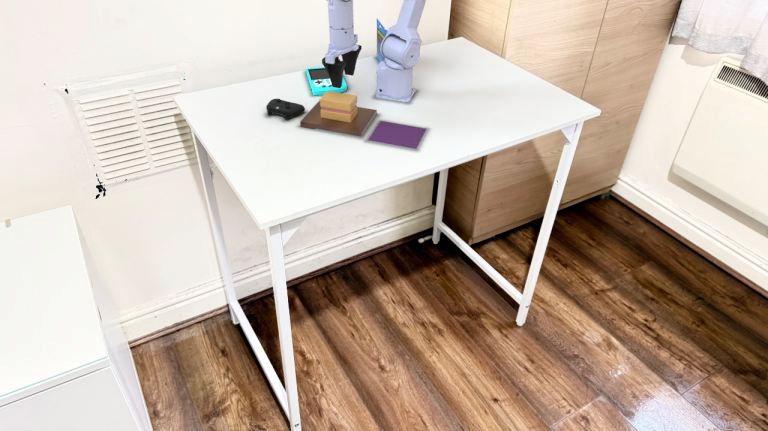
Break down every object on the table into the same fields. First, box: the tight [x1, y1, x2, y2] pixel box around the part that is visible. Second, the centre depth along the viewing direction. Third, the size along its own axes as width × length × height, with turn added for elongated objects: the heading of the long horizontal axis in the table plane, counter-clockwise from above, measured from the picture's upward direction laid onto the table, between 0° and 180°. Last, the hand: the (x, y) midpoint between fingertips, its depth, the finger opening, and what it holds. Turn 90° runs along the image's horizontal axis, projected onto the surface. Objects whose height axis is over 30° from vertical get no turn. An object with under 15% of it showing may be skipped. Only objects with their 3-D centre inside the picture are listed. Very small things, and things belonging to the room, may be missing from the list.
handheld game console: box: [305, 66, 348, 96], centre depth 150 cm, size 10×16×1 cm, turn 14°
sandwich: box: [319, 91, 358, 123], centre depth 130 cm, size 8×5×5 cm, turn 72°
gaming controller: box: [265, 98, 306, 121], centre depth 135 cm, size 10×5×6 cm
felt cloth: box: [367, 120, 427, 150], centre depth 128 cm, size 12×10×1 cm
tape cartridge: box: [376, 18, 388, 62], centre depth 158 cm, size 9×4×12 cm, turn 17°
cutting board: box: [300, 99, 378, 138], centre depth 132 cm, size 16×12×2 cm
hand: (343, 80), depth 129 cm, fingers open, 7 cm apart
